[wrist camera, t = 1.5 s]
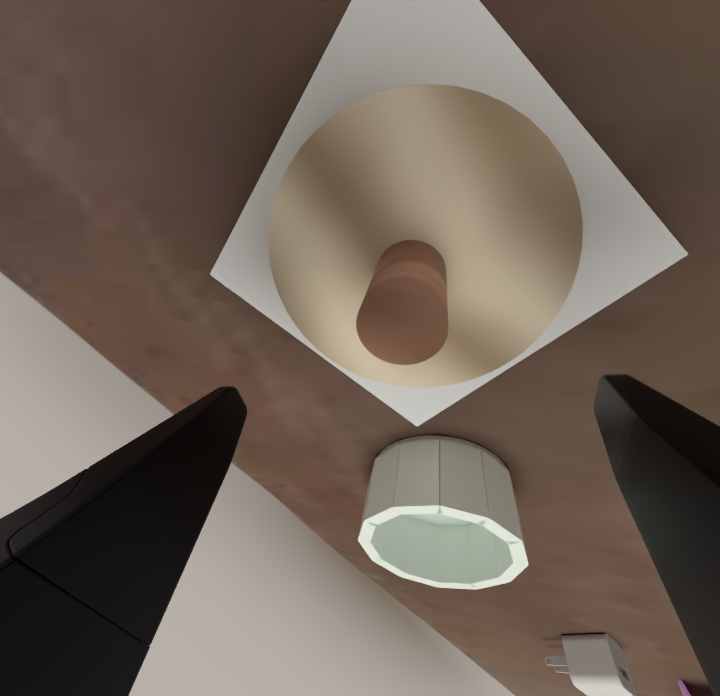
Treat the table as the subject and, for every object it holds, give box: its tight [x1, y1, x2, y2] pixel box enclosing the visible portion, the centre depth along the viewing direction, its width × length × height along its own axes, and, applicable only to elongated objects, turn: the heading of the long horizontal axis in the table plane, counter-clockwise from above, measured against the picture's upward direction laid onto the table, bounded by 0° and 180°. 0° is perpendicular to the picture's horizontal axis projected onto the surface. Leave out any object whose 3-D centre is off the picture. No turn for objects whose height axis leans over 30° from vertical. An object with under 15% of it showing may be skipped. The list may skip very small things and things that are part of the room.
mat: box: [210, 0, 688, 426], centre depth 16 cm, size 15×15×1 cm
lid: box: [268, 84, 583, 388], centre depth 13 cm, size 13×13×6 cm
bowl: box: [358, 435, 529, 589], centre depth 23 cm, size 10×10×5 cm
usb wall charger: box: [544, 634, 637, 696], centre depth 34 cm, size 4×7×4 cm, turn 133°
